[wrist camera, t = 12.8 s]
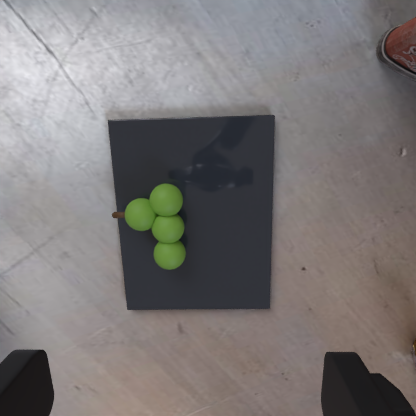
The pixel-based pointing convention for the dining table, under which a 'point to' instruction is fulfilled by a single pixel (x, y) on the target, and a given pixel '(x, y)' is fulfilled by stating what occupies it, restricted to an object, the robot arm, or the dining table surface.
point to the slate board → (199, 209)
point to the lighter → (399, 49)
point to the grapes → (160, 223)
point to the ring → (414, 352)
